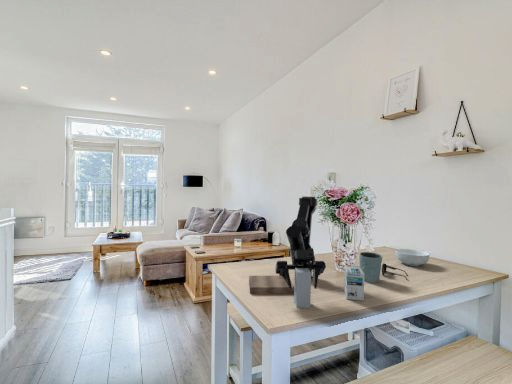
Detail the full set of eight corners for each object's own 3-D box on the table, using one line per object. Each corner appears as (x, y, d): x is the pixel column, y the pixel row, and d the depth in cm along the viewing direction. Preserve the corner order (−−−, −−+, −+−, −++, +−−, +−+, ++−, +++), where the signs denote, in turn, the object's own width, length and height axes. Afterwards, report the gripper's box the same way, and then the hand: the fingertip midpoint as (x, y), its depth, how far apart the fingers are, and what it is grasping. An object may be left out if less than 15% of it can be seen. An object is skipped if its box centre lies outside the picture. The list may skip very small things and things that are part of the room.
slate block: (307, 301, 107) (307, 268, 107) (310, 307, 102) (311, 272, 102) (294, 301, 107) (294, 268, 106) (296, 307, 102) (297, 272, 101)
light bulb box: (364, 301, 108) (365, 273, 108) (346, 299, 110) (346, 272, 109) (359, 290, 119) (360, 265, 118) (343, 289, 120) (344, 264, 120)
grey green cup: (367, 275, 139) (368, 251, 139) (386, 281, 131) (387, 255, 130) (353, 278, 134) (354, 253, 133) (372, 285, 125) (373, 258, 125)
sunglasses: (381, 270, 146) (383, 261, 146) (407, 278, 141) (409, 268, 140) (379, 276, 137) (381, 266, 137) (406, 284, 131) (408, 274, 131)
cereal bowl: (431, 264, 160) (432, 251, 160) (425, 270, 147) (426, 257, 147) (399, 258, 171) (399, 246, 171) (391, 264, 159) (391, 251, 158)
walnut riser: (288, 280, 129) (288, 275, 129) (293, 293, 115) (294, 287, 115) (248, 281, 128) (249, 275, 128) (250, 293, 114) (250, 287, 114)
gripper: (276, 240, 107) (280, 278, 96) (325, 240, 108) (333, 278, 98) (274, 255, 115) (277, 292, 105) (318, 255, 116) (326, 291, 106)
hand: (303, 288), depth 103 cm, fingers open, 9 cm apart
